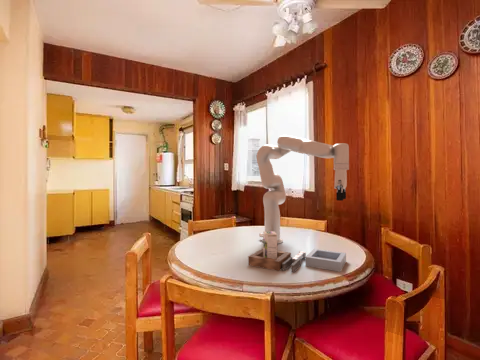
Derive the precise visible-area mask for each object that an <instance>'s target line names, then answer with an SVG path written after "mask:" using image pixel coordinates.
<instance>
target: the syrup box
mask: <svg viewBox="0 0 480 360" xmlns="http://www.w3.org/2000/svg"><path fill="white" fill-rule="evenodd" d="M262 234H263V237H262V239H263V241H262V243H263V244H262V245H263V247H262V249H263V257H266V258H271V259H277V251H278V244H277V234H276V233H275V232H274V231H265V230H264V231H263V233H262Z"/></svg>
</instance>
